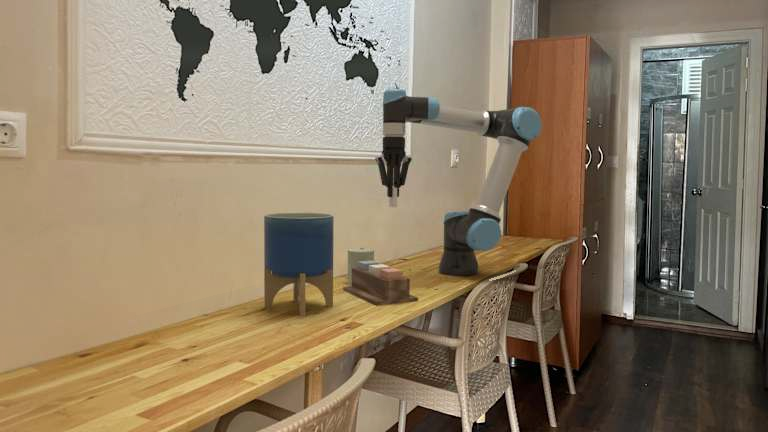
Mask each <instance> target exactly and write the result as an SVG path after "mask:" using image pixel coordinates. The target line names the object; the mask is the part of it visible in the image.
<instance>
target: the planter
mask: <svg viewBox="0 0 768 432" xmlns="http://www.w3.org/2000/svg"><path fill="white" fill-rule="evenodd" d="M263 216H264V219H263V221H264V222H263V228H264V229H263V238H264V239H263V241H264V243H263V245H264V251H263V252H264V253H263V257H264V263H263V265H264V266H263V267H264V268H263V269H264V270H263V272H264V273H263V274H264V276H263V279H264V280H263V283H264V285H263V287H264V289H263V291H264V301H263V302H264V303H263V304H264V306H263V307H264V310H272V309H273V307H272V306H273V302H274V299H275V298H276V296H277V294H278V293H279V292H280V291H281V290H282V289H283V288H285V287H286V286H288V285H291V284H293V286H292V287H293V288H292V289H293V292H292V294H293V302H298V303H299V304H298V305H299V308H298V309H299V316H300V317H302V316H303V317H304V316H306V284H310V285H312V286H314V287H316V288H317V289H318V290H319V291H320V292H321V294H322V295H323V297H324V301H325V306H326V307H327V308H328V307H330V308H331V307H334V219H335V218H334V214H332V213H325V212H310V211H307V212H300V211H292V212H291V211H290V212H273V213H267V214H266V213H265V214H264V215H263Z"/></svg>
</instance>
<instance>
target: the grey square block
mask: <svg viewBox="0 0 768 432" xmlns="http://www.w3.org/2000/svg"><path fill="white" fill-rule="evenodd" d="M379 264H380V263H379V262H378V261H375V260H374V261H358V269H359V270H362V271H369V265H379Z"/></svg>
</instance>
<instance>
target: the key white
mask: <svg viewBox="0 0 768 432" xmlns="http://www.w3.org/2000/svg"><path fill="white" fill-rule="evenodd" d="M380 269H391V266H389V265H386V264H383V263H379V265H369V273H370V274H373V275H380Z"/></svg>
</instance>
